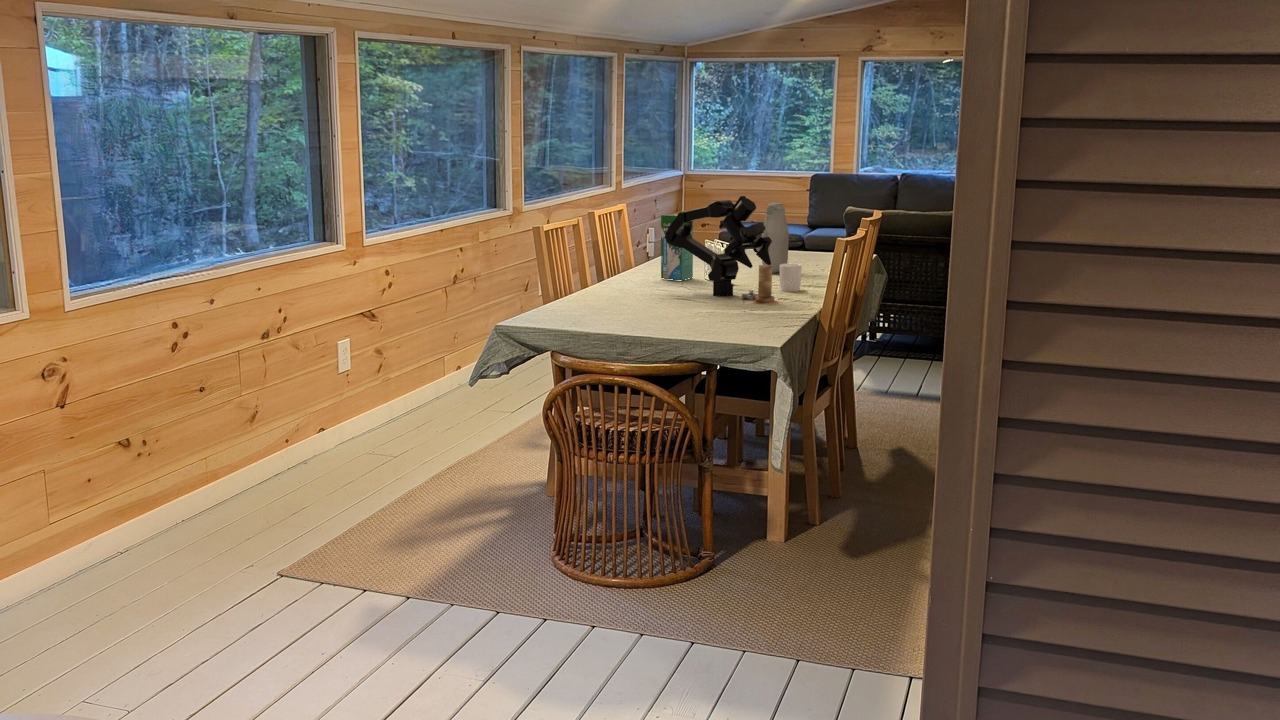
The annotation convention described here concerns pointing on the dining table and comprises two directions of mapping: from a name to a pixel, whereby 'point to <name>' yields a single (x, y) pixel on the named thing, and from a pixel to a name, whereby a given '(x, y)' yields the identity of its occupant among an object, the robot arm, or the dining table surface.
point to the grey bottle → (776, 235)
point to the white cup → (790, 277)
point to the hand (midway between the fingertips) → (760, 265)
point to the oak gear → (765, 285)
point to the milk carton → (674, 255)
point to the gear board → (760, 303)
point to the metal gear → (749, 296)
